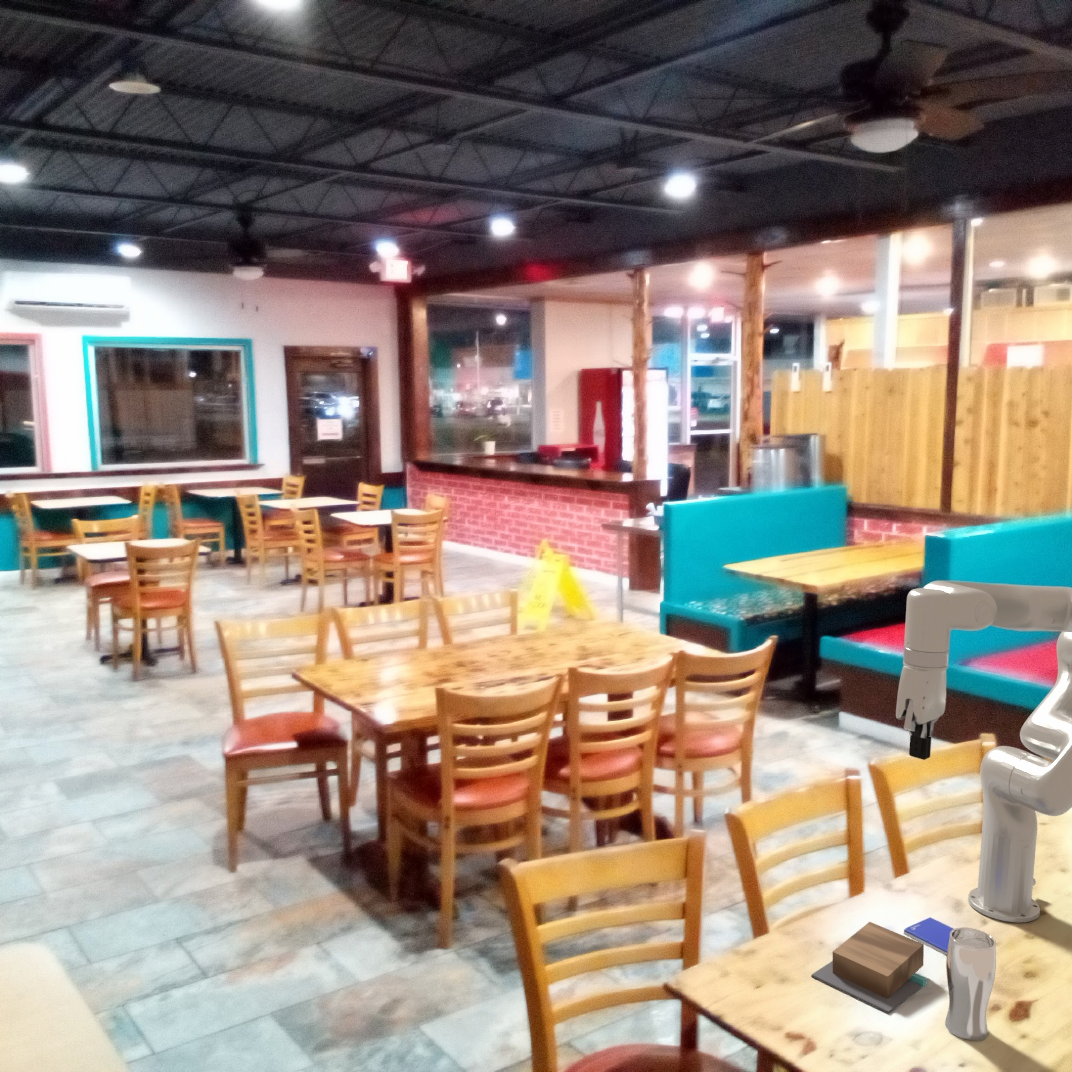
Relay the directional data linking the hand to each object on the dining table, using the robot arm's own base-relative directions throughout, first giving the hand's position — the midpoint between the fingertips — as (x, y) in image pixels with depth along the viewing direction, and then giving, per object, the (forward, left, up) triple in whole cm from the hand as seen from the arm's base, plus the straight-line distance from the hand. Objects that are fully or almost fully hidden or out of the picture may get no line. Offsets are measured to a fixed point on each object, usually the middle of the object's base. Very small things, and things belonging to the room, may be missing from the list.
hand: (919, 756), depth 182 cm
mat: (+22, +4, -33) cm, 40 cm away
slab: (+13, +4, -30) cm, 32 cm away
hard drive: (-1, +7, -34) cm, 35 cm away
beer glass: (+22, +21, -33) cm, 45 cm away
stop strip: (+16, +4, -33) cm, 37 cm away
